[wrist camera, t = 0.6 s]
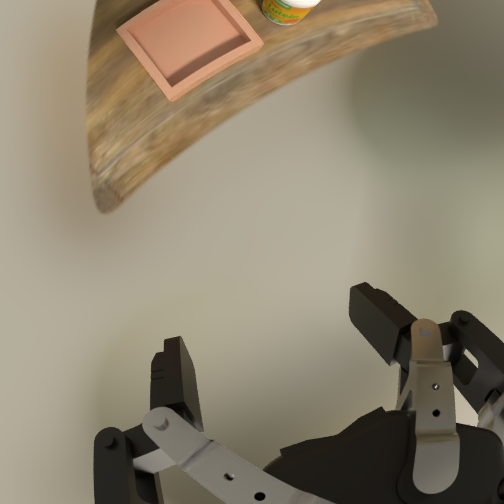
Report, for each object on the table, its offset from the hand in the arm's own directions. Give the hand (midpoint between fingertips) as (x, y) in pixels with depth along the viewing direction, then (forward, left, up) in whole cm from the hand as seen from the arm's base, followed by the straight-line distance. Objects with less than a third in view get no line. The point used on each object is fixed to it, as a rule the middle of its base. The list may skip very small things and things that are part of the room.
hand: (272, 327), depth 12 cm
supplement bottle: (-17, +19, -24) cm, 35 cm away
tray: (-19, +7, -24) cm, 32 cm away
